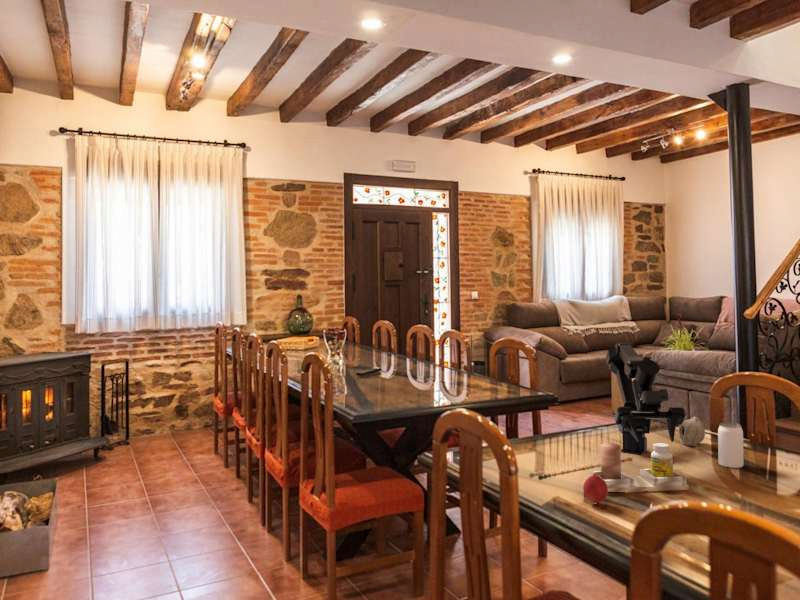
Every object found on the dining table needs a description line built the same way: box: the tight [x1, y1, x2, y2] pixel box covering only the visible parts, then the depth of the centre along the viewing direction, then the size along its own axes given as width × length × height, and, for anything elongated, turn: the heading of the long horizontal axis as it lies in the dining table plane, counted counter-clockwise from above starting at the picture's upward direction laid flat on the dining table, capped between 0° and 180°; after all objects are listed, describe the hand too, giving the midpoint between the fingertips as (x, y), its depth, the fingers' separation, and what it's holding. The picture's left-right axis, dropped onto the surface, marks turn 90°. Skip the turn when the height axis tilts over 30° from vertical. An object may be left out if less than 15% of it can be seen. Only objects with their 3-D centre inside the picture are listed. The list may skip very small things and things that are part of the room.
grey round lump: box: [678, 416, 706, 447], centre depth 203 cm, size 9×8×10 cm
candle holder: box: [589, 442, 689, 493], centre depth 163 cm, size 24×9×11 cm, turn 93°
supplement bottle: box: [650, 442, 674, 477], centre depth 164 cm, size 5×5×10 cm
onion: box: [582, 473, 609, 504], centre depth 151 cm, size 6×6×8 cm
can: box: [717, 422, 744, 469], centre depth 179 cm, size 6×6×12 cm
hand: (655, 441), depth 172 cm, fingers open, 9 cm apart
